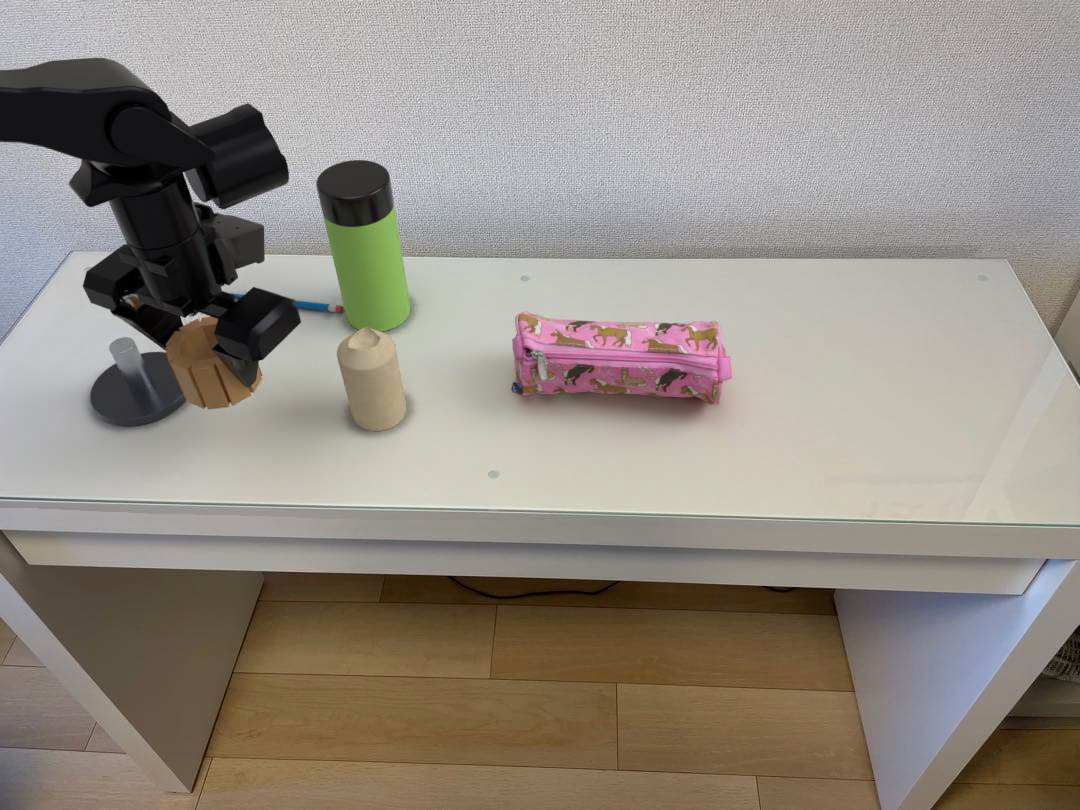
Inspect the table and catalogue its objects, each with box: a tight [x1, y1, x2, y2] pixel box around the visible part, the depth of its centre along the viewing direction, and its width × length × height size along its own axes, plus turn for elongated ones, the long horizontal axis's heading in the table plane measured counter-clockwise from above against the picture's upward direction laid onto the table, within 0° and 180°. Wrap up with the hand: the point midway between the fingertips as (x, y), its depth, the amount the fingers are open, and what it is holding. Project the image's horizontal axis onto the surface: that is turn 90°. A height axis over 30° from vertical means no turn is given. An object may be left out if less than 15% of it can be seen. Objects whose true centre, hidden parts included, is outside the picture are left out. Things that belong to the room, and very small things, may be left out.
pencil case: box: [510, 311, 733, 406], centre depth 85 cm, size 21×9×9 cm, turn 85°
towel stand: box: [89, 336, 187, 427], centre depth 87 cm, size 10×10×6 cm
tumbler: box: [315, 159, 411, 332], centre depth 91 cm, size 8×8×17 cm
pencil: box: [228, 292, 344, 314], centre depth 98 cm, size 1×17×1 cm, turn 80°
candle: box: [336, 327, 407, 432], centre depth 83 cm, size 6×6×10 cm
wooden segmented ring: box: [164, 316, 263, 410], centre depth 77 cm, size 7×7×5 cm
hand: (218, 371), depth 78 cm, fingers closed on wooden segmented ring, 7 cm apart
